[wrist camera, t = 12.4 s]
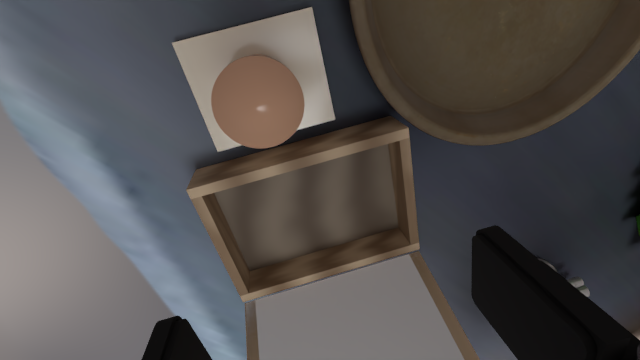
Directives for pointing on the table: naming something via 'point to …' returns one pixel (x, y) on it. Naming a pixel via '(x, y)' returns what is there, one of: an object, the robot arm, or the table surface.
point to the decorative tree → (638, 223)
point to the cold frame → (310, 207)
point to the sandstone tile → (268, 39)
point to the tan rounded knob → (257, 101)
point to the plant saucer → (493, 60)
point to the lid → (359, 318)
